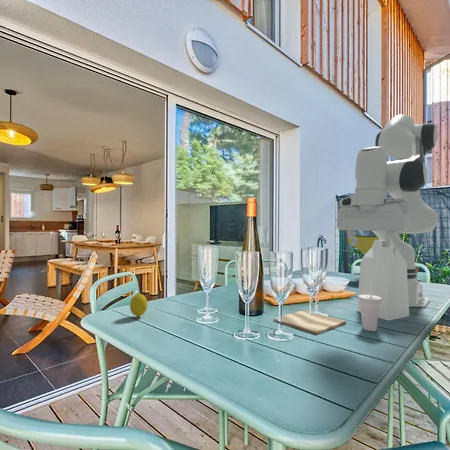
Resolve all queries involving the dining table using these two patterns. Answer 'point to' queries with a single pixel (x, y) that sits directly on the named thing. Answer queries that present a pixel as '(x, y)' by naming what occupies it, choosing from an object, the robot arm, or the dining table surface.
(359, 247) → the cocktail glass
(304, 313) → the oak board
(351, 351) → the dining table surface
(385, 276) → the milk
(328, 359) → the dining table surface
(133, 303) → the lemon
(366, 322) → the smoothie
